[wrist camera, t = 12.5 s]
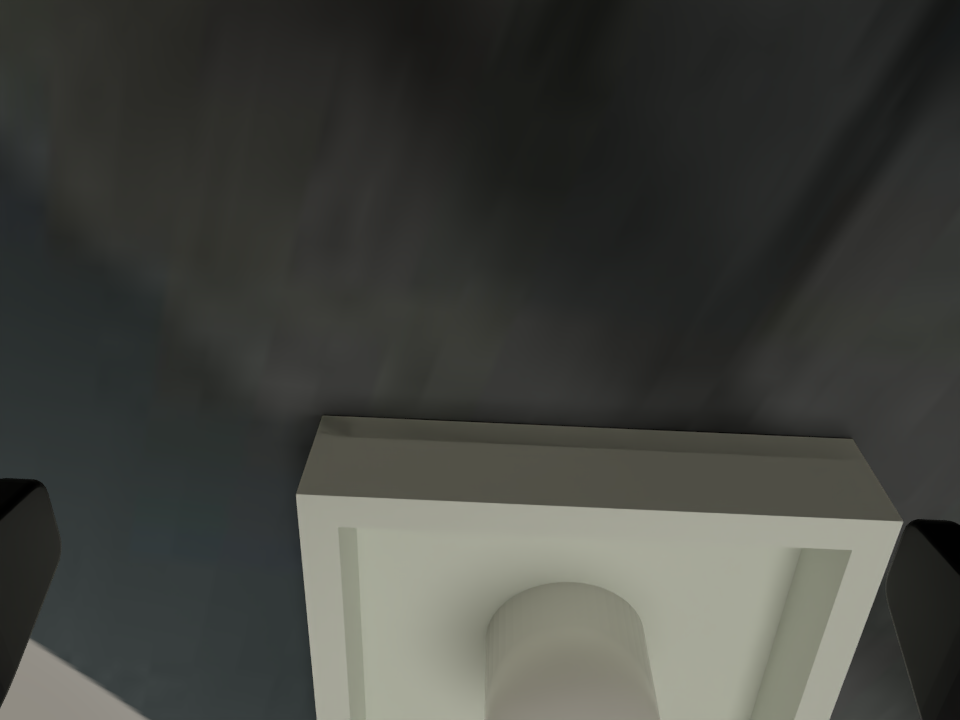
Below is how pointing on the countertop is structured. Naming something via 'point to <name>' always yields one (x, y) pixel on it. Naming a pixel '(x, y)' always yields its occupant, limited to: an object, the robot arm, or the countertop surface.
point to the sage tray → (587, 558)
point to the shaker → (568, 657)
